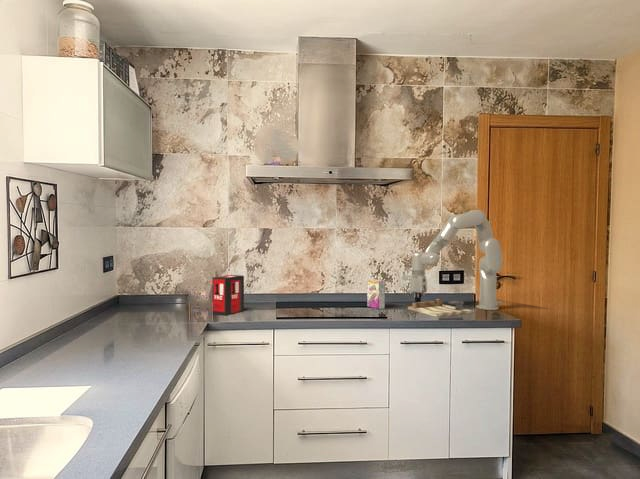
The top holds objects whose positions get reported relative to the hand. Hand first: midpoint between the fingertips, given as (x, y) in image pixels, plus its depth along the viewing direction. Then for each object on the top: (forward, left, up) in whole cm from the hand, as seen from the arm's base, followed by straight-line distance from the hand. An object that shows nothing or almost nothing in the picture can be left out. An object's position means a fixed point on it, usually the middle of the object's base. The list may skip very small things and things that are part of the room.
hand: (417, 303), depth 294 cm
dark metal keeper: (-10, +21, -1) cm, 23 cm away
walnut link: (-3, +6, -1) cm, 6 cm away
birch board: (-4, +14, -3) cm, 15 cm away
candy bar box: (+23, -11, -3) cm, 25 cm away
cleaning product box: (+107, -31, -3) cm, 111 cm away
